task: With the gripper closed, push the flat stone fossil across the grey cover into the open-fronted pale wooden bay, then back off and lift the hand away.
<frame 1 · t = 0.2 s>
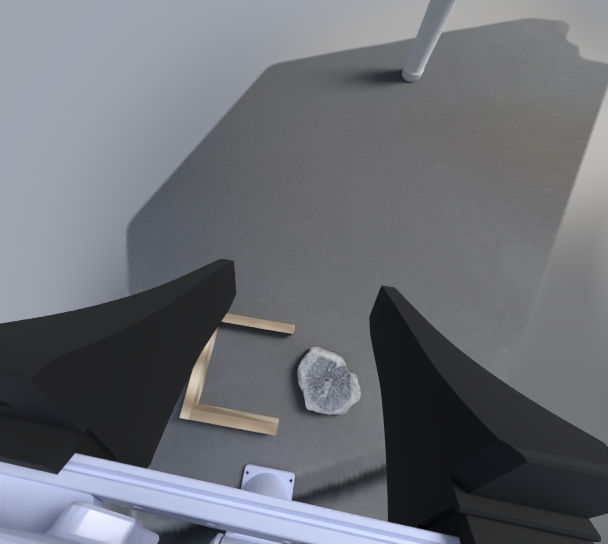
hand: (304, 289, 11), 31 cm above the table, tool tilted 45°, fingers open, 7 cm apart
fossil: (325, 380, 39), on the table
bay: (248, 367, 39), on the table
bottle: (410, 76, 58), on the table
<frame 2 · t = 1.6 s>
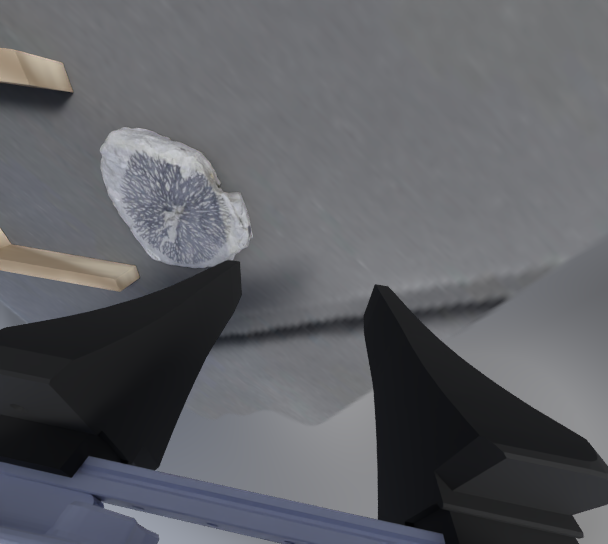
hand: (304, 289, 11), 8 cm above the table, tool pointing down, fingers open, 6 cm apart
fossil: (191, 207, 19), on the table
bay: (35, 184, 19), on the table
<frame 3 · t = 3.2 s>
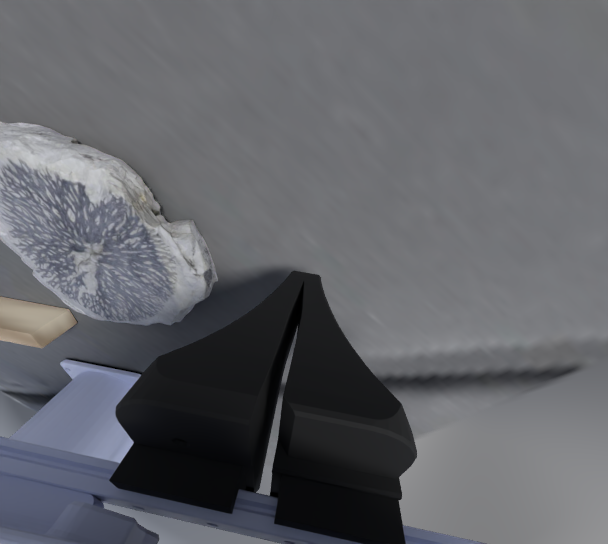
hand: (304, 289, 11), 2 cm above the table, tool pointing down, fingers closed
fossil: (130, 237, 13), on the table
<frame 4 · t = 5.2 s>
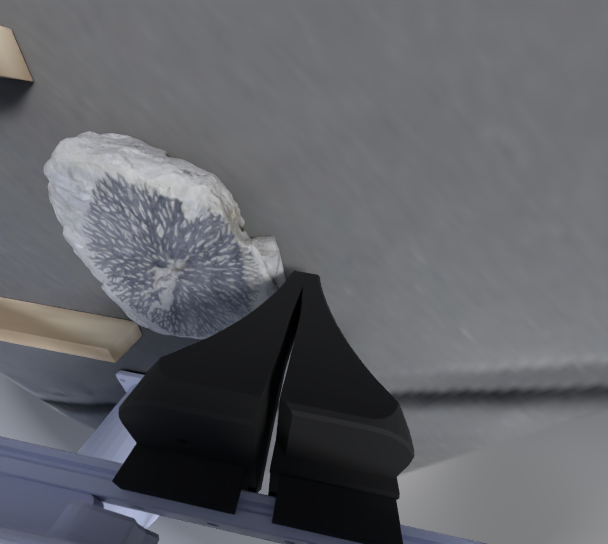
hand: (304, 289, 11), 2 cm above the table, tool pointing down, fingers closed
fossil: (197, 249, 13), on the table, touching gripper
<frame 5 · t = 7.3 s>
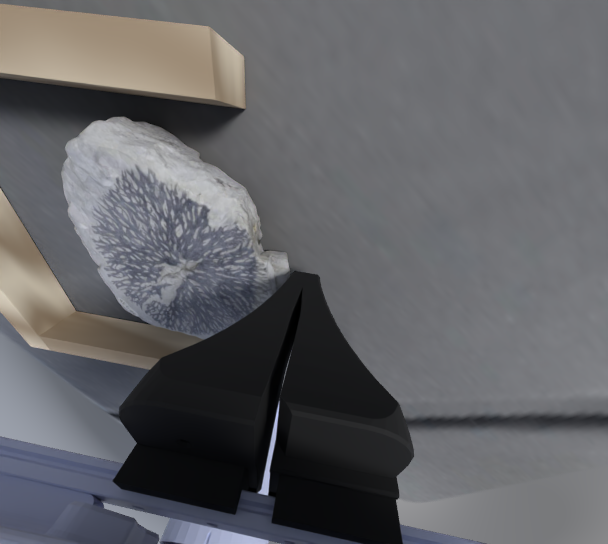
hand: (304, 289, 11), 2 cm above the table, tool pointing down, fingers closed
fossil: (203, 247, 13), on the table, touching gripper
bay: (133, 243, 13), on the table
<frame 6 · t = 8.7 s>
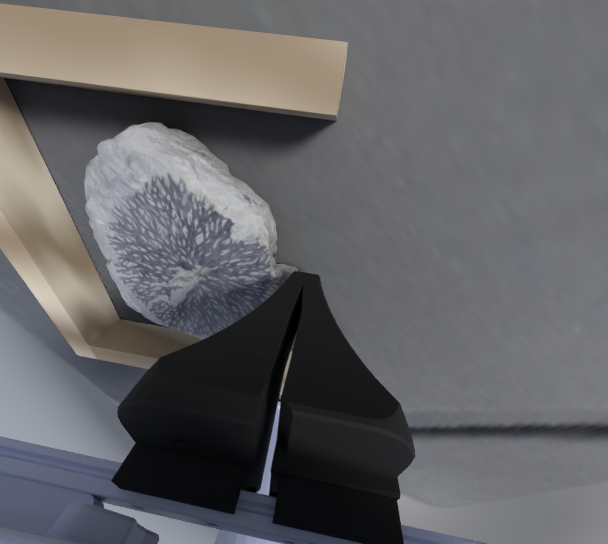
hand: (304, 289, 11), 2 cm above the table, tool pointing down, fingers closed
fossil: (213, 250, 13), on the table, touching gripper
bay: (192, 252, 12), on the table
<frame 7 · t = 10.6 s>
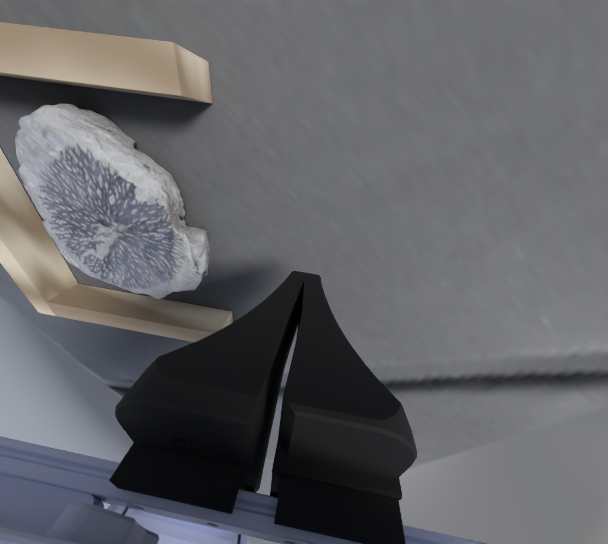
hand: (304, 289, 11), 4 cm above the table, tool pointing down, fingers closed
fossil: (142, 217, 15), on the table
bay: (126, 218, 15), on the table
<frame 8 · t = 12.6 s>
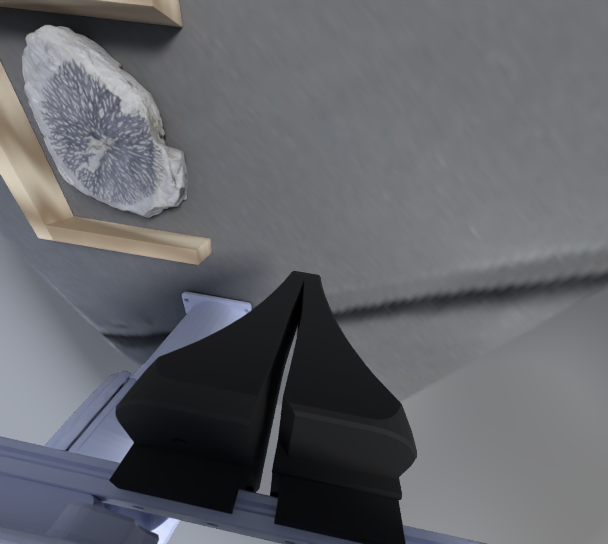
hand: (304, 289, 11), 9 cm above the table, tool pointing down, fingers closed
fossil: (129, 144, 18), on the table
bay: (115, 144, 17), on the table
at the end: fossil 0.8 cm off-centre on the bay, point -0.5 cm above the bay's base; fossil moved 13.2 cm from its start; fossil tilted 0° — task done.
